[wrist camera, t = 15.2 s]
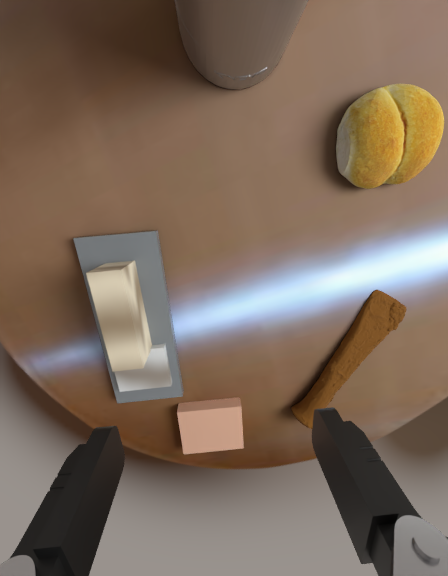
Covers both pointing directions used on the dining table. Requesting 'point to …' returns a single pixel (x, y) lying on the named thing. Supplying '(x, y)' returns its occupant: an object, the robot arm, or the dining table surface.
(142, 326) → the beige stepped block
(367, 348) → the primitive tool
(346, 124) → the bread roll
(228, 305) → the dining table surface
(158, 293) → the plate
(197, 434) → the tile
